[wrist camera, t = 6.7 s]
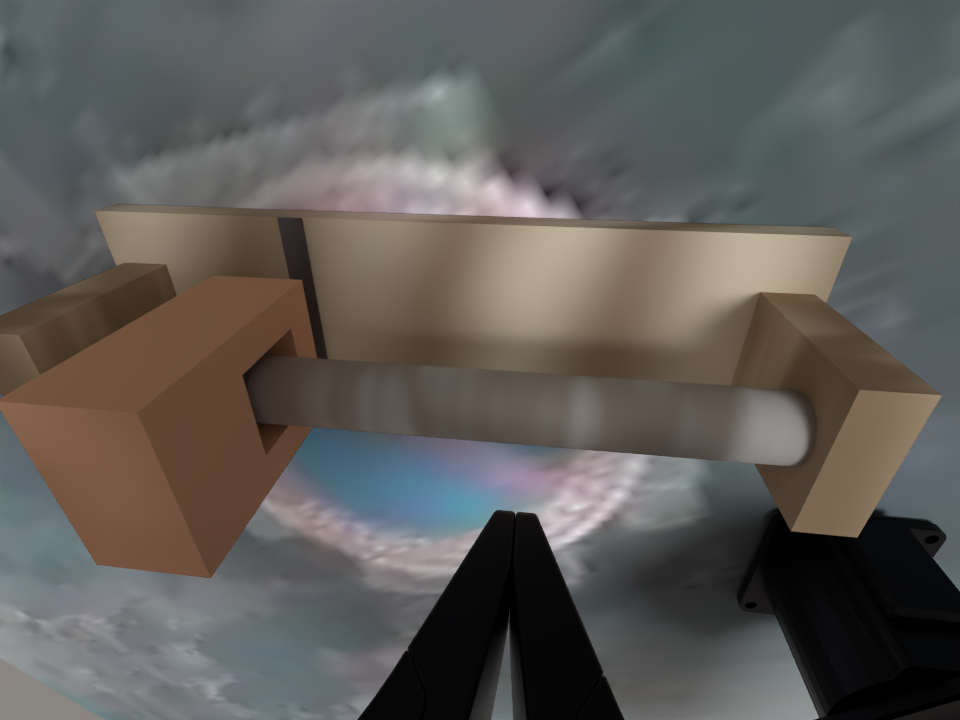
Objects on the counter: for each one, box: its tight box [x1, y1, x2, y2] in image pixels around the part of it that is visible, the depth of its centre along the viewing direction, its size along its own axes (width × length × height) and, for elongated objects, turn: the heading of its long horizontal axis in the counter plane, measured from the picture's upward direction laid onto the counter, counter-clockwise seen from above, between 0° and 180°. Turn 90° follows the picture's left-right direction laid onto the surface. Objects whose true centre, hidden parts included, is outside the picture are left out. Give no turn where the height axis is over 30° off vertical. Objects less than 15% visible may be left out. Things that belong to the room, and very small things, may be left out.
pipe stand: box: [0, 204, 942, 537], centre depth 15 cm, size 24×8×6 cm, turn 90°
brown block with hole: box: [0, 275, 317, 578], centre depth 13 cm, size 3×5×7 cm, turn 0°
